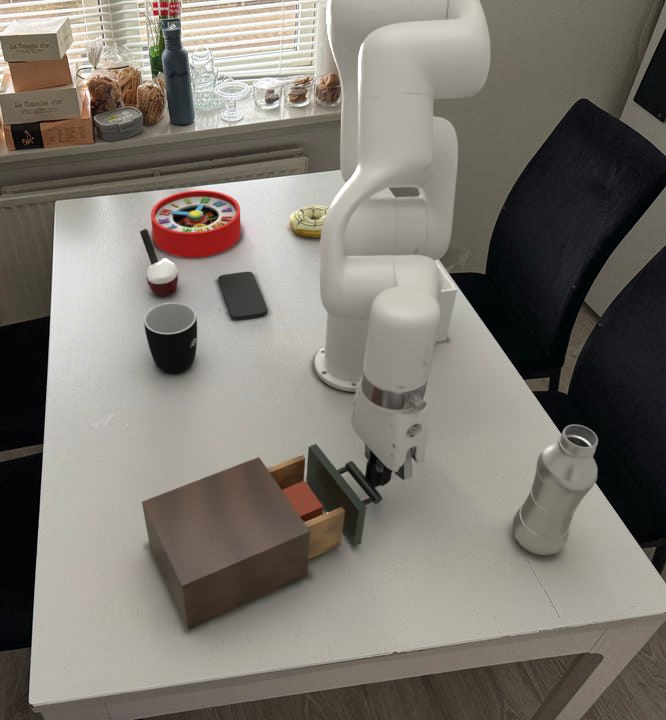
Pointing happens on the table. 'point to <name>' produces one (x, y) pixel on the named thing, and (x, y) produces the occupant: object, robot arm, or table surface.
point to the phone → (242, 295)
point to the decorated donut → (308, 221)
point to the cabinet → (226, 540)
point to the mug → (172, 336)
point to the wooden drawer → (329, 498)
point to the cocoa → (159, 270)
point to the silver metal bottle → (557, 491)
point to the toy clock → (196, 223)
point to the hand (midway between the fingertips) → (377, 481)
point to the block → (304, 501)
